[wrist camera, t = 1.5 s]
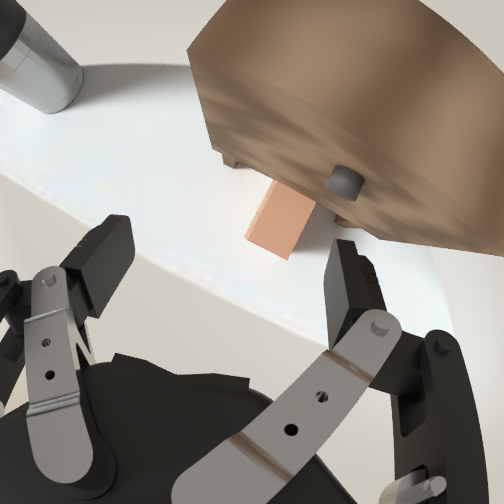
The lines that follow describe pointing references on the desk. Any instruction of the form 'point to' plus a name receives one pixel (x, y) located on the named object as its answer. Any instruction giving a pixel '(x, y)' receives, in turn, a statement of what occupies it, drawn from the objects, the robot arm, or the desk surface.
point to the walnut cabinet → (361, 114)
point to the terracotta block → (280, 219)
